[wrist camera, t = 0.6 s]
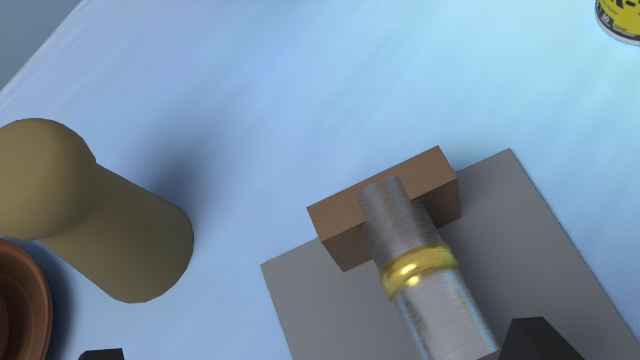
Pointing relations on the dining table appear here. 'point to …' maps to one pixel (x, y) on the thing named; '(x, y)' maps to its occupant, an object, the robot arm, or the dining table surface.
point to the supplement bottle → (620, 19)
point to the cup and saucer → (23, 306)
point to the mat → (476, 270)
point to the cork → (89, 212)
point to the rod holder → (409, 252)
